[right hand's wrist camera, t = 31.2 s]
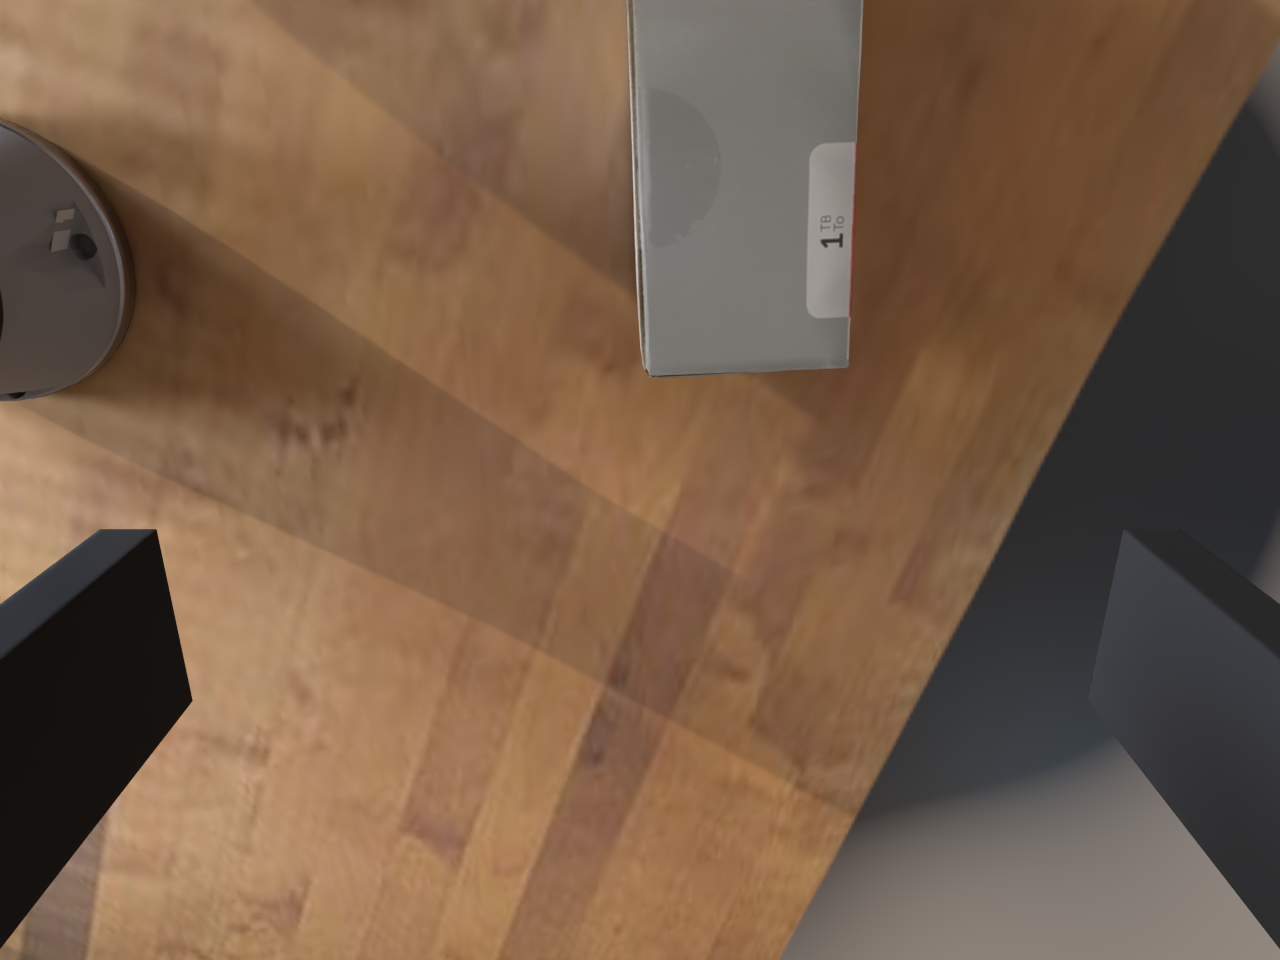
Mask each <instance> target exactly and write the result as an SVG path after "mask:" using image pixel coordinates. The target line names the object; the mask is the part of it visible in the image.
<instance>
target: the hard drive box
mask: <svg viewBox="0 0 1280 960" xmlns="http://www.w3.org/2000/svg"><path fill="white" fill-rule="evenodd" d="M862 20H863V0H627V27H628V53H629V79H630V108H631V137H632V165H633V199H634V233H635V261H636V286H637V300H638V320H639V332H640V347H641V356H642V363H643V367H644V369H645V371H646V372H647V374H648V377H649V378H677V377H695V376H711V375H730V374H743V373H759V372H776V371H790V370H815V369H833V368H847V367H848V366H849V339H850V320H851V300H852V277H853V255H854V232H855V195H856V162H857V122H858V99H859V82H860V66H861V47H862Z"/></svg>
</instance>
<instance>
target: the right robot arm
mask: <svg viewBox="0 0 1280 960" xmlns="http://www.w3.org/2000/svg"><path fill="white" fill-rule="evenodd" d="M134 296H135V278H134V269H133V263H132V258H131V253H130V249H129V246H128V243H127V240H126V237H125V234H124V232H123V229H122V227H121V224H120V222H119V220H118V218H117V216H116V214H115V212H114V210H113V209H112V207H111V206H110V204H109V202H108V201H107V199H106V197H105V196H104V195H103V193H102V192H101V191H100V189H99V188H98V186H97V185H96V184H95V183H94V182H93V180H92V179H91V178H90V177H89V176H88V174H87V173H86V172H85V171H84V170H83V169H82V168H81V167H80V166H79V165H78V164H77V163H76V162H75V161H74V160H72V159H71V158H70V157H69V156H68V155H67V154H65V153H64V152H63V151H62V150H60V149H59V148H58V147H56V146H55V145H53V144H52V143H51V142H49V141H48V140H46V139H44V138H43V137H41V136H39V135H38V134H36V133H34V132H32V131H30V130H28V129H26V128H24V127H22V126H20V125H17V124H14V123H12V122H9V121H7V120H3V119H0V401H17V400H25V399H32V398H37V397H42V396H46V395H49V394H52V393H55V392H58V391H60V390H62V389H65V388H67V387H69V386H71V385H73V384H75V383H78V382H80V381H82V380H84V379H85V378H87V377H89V376H90V375H92V374H93V373H94V372H96V371H97V370H98V369H100V368H101V367H102V366H103V365H104V364H105V363H106V362H107V361H108V360H109V359H110V358H111V356H112V355H113V354H114V353H115V351H116V350H117V348H118V347H119V345H120V343H121V342H122V340H123V338H124V336H125V333H126V331H127V329H128V326H129V323H130V320H131V316H132V311H133V306H134ZM191 702H192V696H191V691H190V686H189V682H188V677H187V672H186V667H185V663H184V658H183V653H182V648H181V644H180V639H179V634H178V629H177V625H176V620H175V615H174V610H173V606H172V601H171V596H170V591H169V587H168V582H167V577H166V572H165V568H164V563H163V558H162V553H161V549H160V544H159V539H158V534H157V530H156V529H100V530H99V531H97V532H96V533H95V534H93V535H92V536H91V537H89V538H88V539H87V540H85V541H84V542H83V543H81V544H80V545H79V546H77V547H76V548H75V549H73V550H72V551H71V552H69V553H68V554H67V555H65V556H64V557H63V558H61V559H60V560H59V561H57V562H56V563H55V564H53V565H52V566H51V567H49V568H48V569H47V570H45V571H44V572H43V573H41V574H40V575H39V576H37V577H36V578H35V579H33V580H32V581H31V582H29V583H28V584H27V585H25V586H24V587H23V588H21V589H20V590H19V591H17V592H16V593H15V594H13V595H12V596H11V597H9V598H8V599H7V600H5V601H4V602H3V603H1V604H0V948H1V947H2V946H3V945H4V943H5V942H6V941H7V939H8V938H9V937H10V936H11V934H12V933H13V932H14V930H15V929H16V928H17V927H18V925H19V924H20V923H21V921H22V920H23V919H24V918H25V916H26V915H27V914H28V912H29V911H30V910H31V908H32V907H33V906H34V905H35V903H36V902H37V901H38V899H39V898H40V897H41V896H42V894H43V893H44V892H45V890H46V889H47V888H48V887H49V885H50V884H51V883H52V881H53V880H54V879H55V878H56V876H57V875H58V874H59V872H60V871H61V870H62V869H63V867H64V866H65V865H66V863H67V862H68V861H69V860H70V858H71V857H72V856H73V854H74V853H75V852H76V850H77V849H78V848H79V847H80V845H81V844H82V843H83V841H84V840H85V839H86V838H87V836H88V835H89V834H90V832H91V831H92V830H93V829H94V827H95V826H96V825H97V823H98V822H99V821H100V820H101V818H102V817H103V816H104V814H105V813H106V812H107V811H108V809H109V808H110V807H111V805H112V804H113V803H114V801H115V800H116V799H117V798H118V796H119V795H120V794H121V792H122V791H123V790H124V789H125V787H126V786H127V785H128V783H129V782H130V781H131V780H132V778H133V777H134V776H135V774H136V773H137V772H138V771H139V769H140V768H141V767H142V765H143V764H144V763H145V762H146V760H147V759H148V758H149V756H150V755H151V754H152V753H153V751H154V750H155V749H156V747H157V746H158V745H159V743H160V742H161V741H162V740H163V738H164V737H165V736H166V734H167V733H168V732H169V731H170V729H171V728H172V727H173V725H174V724H175V723H176V722H177V720H178V719H179V718H180V716H181V715H182V714H183V713H184V711H185V710H186V709H187V707H188V706H189V705H190V704H191ZM1088 702H1089V704H1090V705H1091V706H1092V707H1093V709H1094V710H1095V711H1096V712H1097V714H1098V715H1099V716H1100V718H1101V719H1102V720H1103V722H1104V723H1105V724H1106V725H1107V727H1108V728H1109V729H1110V731H1111V732H1112V733H1113V734H1114V736H1115V737H1116V738H1117V740H1118V741H1119V742H1120V743H1121V745H1122V746H1123V747H1124V749H1125V750H1126V751H1127V752H1128V754H1129V755H1130V756H1131V758H1132V759H1133V760H1134V762H1135V763H1136V764H1137V765H1138V767H1139V768H1140V769H1141V770H1142V772H1143V773H1144V774H1145V776H1146V777H1147V778H1148V780H1149V781H1150V782H1151V783H1152V785H1153V786H1154V787H1155V789H1156V790H1157V791H1158V792H1159V794H1160V795H1161V796H1162V798H1163V799H1164V800H1165V801H1166V803H1167V804H1168V805H1169V807H1170V808H1171V809H1172V811H1173V812H1174V813H1175V814H1176V816H1177V817H1178V818H1179V820H1180V821H1181V822H1182V823H1183V825H1184V826H1185V827H1186V829H1187V830H1188V831H1189V832H1190V834H1191V835H1192V836H1193V838H1194V839H1195V840H1196V841H1197V843H1198V844H1199V845H1200V847H1201V848H1202V849H1203V850H1204V852H1205V853H1206V854H1207V856H1208V857H1209V858H1210V859H1211V861H1212V862H1213V863H1214V865H1215V866H1216V867H1217V868H1218V870H1219V871H1220V872H1221V874H1222V875H1223V876H1224V878H1225V879H1226V880H1227V881H1228V883H1229V884H1230V885H1231V887H1232V888H1233V889H1234V890H1235V892H1236V893H1237V894H1238V896H1239V897H1240V898H1241V899H1242V901H1243V902H1244V903H1245V905H1246V906H1247V907H1248V908H1249V910H1250V911H1251V912H1252V914H1253V915H1254V916H1255V918H1256V919H1257V920H1258V921H1259V923H1260V924H1261V925H1262V927H1263V928H1264V929H1265V930H1266V932H1267V933H1268V934H1269V936H1270V937H1271V938H1272V939H1273V941H1274V942H1275V943H1276V945H1277V946H1278V947H1279V948H1280V604H1279V603H1277V602H1276V601H1275V600H1273V599H1272V598H1271V597H1269V596H1268V595H1267V594H1265V593H1264V592H1263V591H1261V590H1260V589H1259V588H1257V587H1256V586H1255V585H1253V584H1252V583H1251V582H1249V581H1248V580H1247V579H1245V578H1244V577H1243V576H1241V575H1240V574H1239V573H1237V572H1236V571H1235V570H1233V569H1232V568H1231V567H1229V566H1228V565H1227V564H1225V563H1224V562H1223V561H1221V560H1220V559H1219V558H1217V557H1216V556H1215V555H1213V554H1212V553H1211V552H1209V551H1208V550H1207V549H1205V548H1204V547H1203V546H1201V545H1200V544H1199V543H1197V542H1196V541H1195V540H1193V539H1192V538H1191V537H1189V536H1188V535H1187V534H1185V533H1184V532H1183V531H1181V530H1180V529H1124V530H1123V534H1122V539H1121V544H1120V549H1119V554H1118V558H1117V563H1116V568H1115V573H1114V577H1113V582H1112V587H1111V591H1110V596H1109V601H1108V606H1107V610H1106V615H1105V620H1104V625H1103V629H1102V634H1101V639H1100V644H1099V648H1098V653H1097V658H1096V663H1095V667H1094V672H1093V677H1092V682H1091V687H1090V691H1089V696H1088Z"/></svg>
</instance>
